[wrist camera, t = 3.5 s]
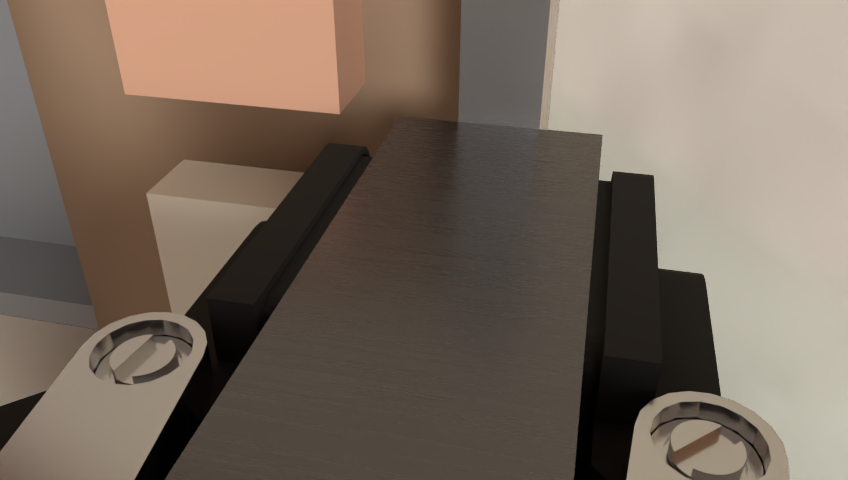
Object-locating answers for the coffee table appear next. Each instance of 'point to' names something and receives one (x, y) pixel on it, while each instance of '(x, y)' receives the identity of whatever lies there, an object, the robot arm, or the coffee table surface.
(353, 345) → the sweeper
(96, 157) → the brown tray
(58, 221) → the box
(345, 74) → the tile terracotta
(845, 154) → the coffee table surface
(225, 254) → the tile cream
